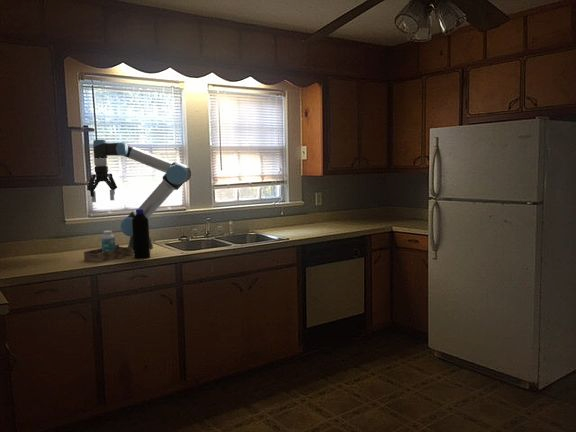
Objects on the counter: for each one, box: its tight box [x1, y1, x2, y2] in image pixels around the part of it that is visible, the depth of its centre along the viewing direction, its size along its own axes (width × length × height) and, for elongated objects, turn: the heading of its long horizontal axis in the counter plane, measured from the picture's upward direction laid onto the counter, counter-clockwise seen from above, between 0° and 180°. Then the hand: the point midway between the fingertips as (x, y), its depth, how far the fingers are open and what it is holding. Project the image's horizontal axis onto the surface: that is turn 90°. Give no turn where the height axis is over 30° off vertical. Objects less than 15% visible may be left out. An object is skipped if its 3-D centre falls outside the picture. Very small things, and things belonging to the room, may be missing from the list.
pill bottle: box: [101, 230, 116, 252], centre depth 285 cm, size 8×7×14 cm
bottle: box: [132, 208, 151, 260], centre depth 283 cm, size 9×9×28 cm
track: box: [83, 244, 134, 263], centre depth 286 cm, size 24×13×5 cm, turn 151°
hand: (103, 201), depth 297 cm, fingers open, 13 cm apart
